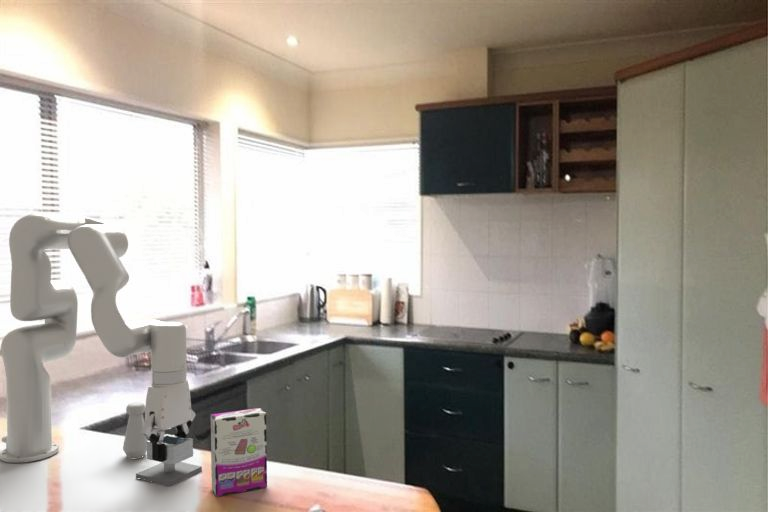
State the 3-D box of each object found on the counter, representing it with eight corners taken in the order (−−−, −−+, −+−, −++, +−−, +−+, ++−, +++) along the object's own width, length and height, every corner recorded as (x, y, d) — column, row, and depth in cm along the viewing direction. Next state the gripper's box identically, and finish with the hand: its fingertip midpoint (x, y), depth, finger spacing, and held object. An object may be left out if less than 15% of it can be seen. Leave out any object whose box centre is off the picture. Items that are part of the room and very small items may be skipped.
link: (146, 459, 140) (146, 441, 140) (166, 450, 146) (166, 433, 146) (173, 464, 137) (173, 446, 137) (193, 456, 142) (192, 438, 142)
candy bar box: (261, 479, 139) (261, 406, 138) (267, 487, 134) (267, 412, 134) (210, 488, 134) (209, 413, 133) (215, 497, 129) (215, 419, 129)
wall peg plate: (135, 478, 139) (135, 448, 139) (169, 463, 148) (169, 436, 148) (169, 486, 135) (169, 456, 135) (201, 470, 144) (201, 442, 144)
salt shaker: (139, 461, 150) (139, 407, 149) (118, 459, 151) (117, 406, 150) (153, 452, 155) (152, 401, 155) (132, 451, 156) (132, 399, 156)
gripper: (184, 368, 150) (184, 442, 151) (126, 383, 135) (127, 465, 135) (208, 371, 147) (208, 446, 147) (151, 387, 131) (152, 471, 132)
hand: (169, 455), depth 141 cm, fingers closed on link, 6 cm apart
